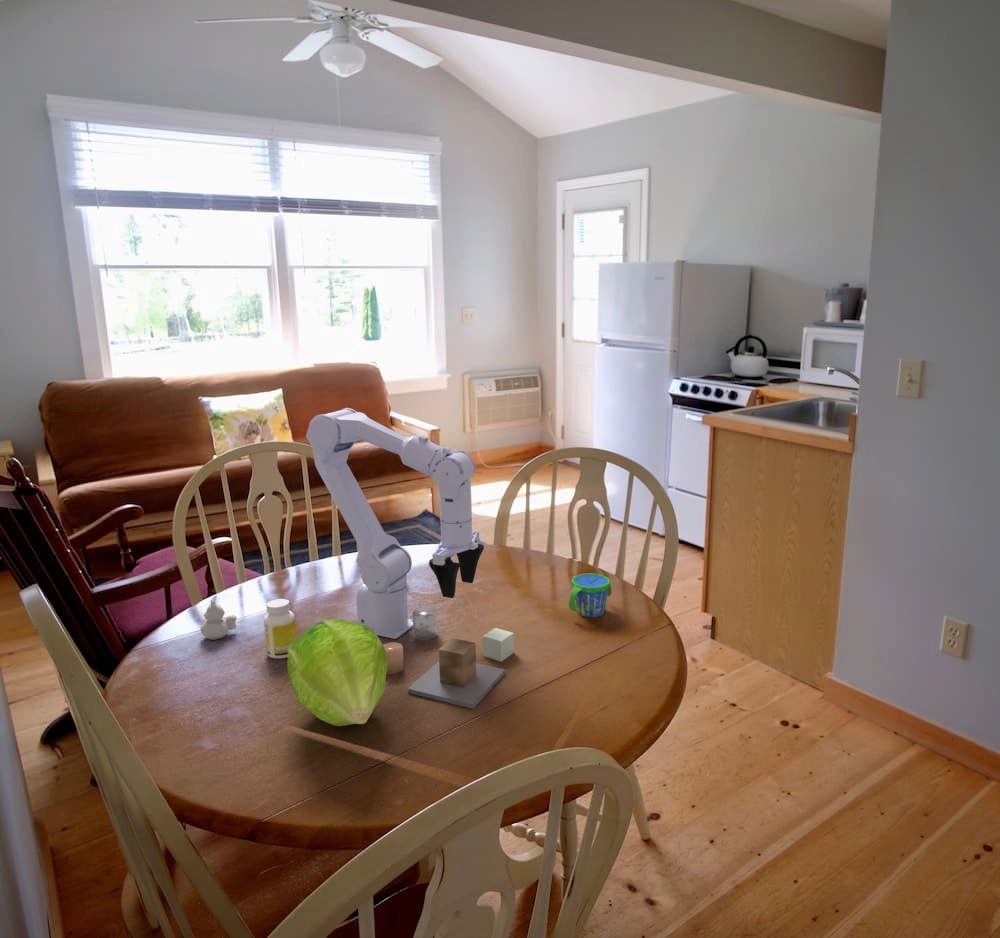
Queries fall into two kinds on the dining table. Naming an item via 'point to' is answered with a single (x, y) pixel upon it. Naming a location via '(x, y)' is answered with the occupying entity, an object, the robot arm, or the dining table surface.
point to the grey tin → (424, 624)
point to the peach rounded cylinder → (394, 657)
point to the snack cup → (589, 594)
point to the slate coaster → (457, 695)
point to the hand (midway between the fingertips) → (458, 589)
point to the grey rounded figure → (217, 622)
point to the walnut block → (457, 662)
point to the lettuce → (338, 671)
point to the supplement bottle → (279, 628)
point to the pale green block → (498, 644)
